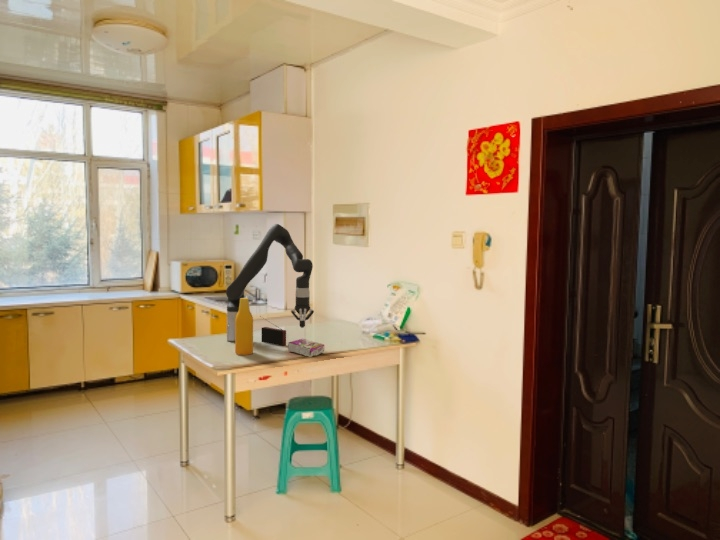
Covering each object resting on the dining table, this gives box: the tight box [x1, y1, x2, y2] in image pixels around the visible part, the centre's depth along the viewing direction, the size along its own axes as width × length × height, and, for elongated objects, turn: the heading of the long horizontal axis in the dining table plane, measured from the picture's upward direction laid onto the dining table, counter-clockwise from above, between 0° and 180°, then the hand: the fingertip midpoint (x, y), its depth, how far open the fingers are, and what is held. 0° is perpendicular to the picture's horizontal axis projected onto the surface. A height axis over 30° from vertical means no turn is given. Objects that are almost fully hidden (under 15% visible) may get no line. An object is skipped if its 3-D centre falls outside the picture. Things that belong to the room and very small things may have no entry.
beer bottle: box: [234, 297, 254, 356], centre depth 274 cm, size 9×9×29 cm
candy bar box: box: [287, 338, 325, 358], centre depth 279 cm, size 11×5×16 cm
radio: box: [259, 315, 287, 347], centre depth 300 cm, size 19×3×15 cm, turn 56°
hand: (302, 327), depth 286 cm, fingers closed
